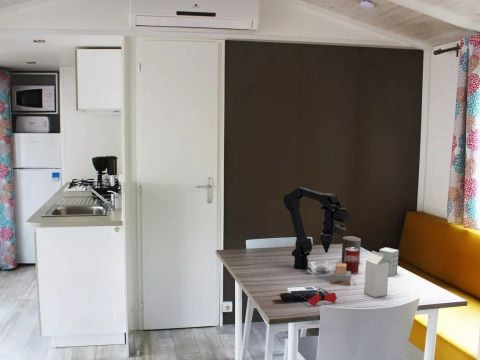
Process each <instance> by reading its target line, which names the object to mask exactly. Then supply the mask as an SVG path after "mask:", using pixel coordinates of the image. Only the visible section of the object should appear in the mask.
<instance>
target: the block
mask: <svg viewBox="0 0 480 360" xmlns="http://www.w3.org/2000/svg"><path fill="white" fill-rule="evenodd" d="M334 266H335V267H334V270H335V274H341V275H346V264H343V263H342V262H340V263H339V262H336V263H335V265H334Z"/></svg>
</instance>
